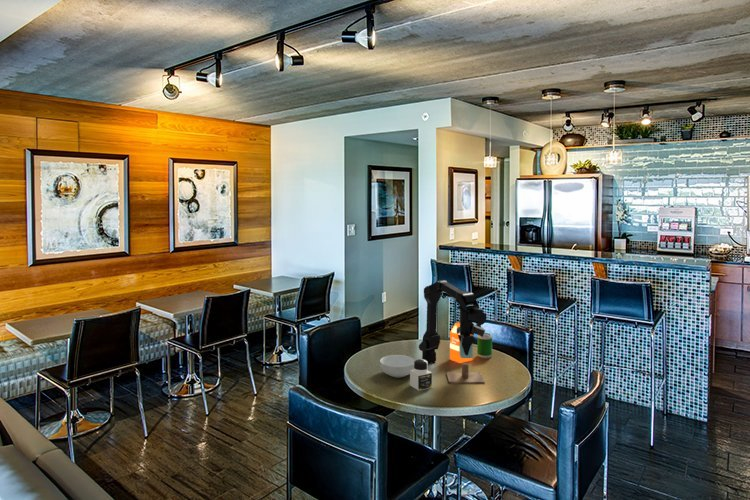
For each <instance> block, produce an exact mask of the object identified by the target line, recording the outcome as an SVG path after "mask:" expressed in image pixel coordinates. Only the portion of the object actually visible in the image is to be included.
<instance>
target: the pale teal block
mask: <svg viewBox="0 0 750 500" xmlns="http://www.w3.org/2000/svg"><path fill="white" fill-rule="evenodd" d="M473 346H474V344H472V345H471V346H470V350H469V353H468V355H465V352H464V350H463V347H462V344H461V341H459V355H460V357H461V358H472V359H473V358H474V357H473V356H474V355H473V354H474V353H473V352H474V351H473Z"/></svg>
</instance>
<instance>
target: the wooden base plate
mask: <svg viewBox="0 0 750 500" xmlns="http://www.w3.org/2000/svg"><path fill="white" fill-rule="evenodd" d="M445 375H446V377H447V381H448V384H466V385H467V384H475V385H476V384H479V385H480V384H486V382H485V379H484V377H483V376H482V375H483V374H481V372H478V371H477V372H476V371H474V372H469V364H468V362H463V363H461V372H460V371H459V372H458V371H457V372H454V371H453V372H449V371H447V372H446V373H445Z"/></svg>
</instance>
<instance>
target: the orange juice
mask: <svg viewBox="0 0 750 500" xmlns="http://www.w3.org/2000/svg"><path fill="white" fill-rule="evenodd" d="M458 327H460V324H459V321H458V322H455V324H454V325H453V327H452V328H451V330H450V332H449V360H451V361H452V362H456V363H458V364H462V363H468V362H470V361H471V362H472V361H473V358H461V357H460V355H459V341H460V340H459V338H458V335H459V334H457V333H456V332H457V328H458Z"/></svg>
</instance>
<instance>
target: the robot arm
mask: <svg viewBox="0 0 750 500" xmlns="http://www.w3.org/2000/svg"><path fill="white" fill-rule="evenodd" d="M442 293H445V294H447V295H448V296H450V297H451V298H453V299H454V300H455V302H456V304H458V306H456V309H457V310H459V321H458V322H459V324H460V327H458V328H457V332H456V333H457V334H459V335H458V338H459V340H460V341H461V344H462V347H463V350H464V352H465V355H468V353H469V350H470V346H471V345H472V344H473V345H474V344H477V338H476V337H475V336H474V335H477V336H478V335H480V336H481V337H483V335H484V333H486V329H485V328H484V327H483V325H484V324H485V323H486V322H487V314H486V313H485V312H484V309H483V308H480V305H479V302H478V301H477V299H476V296H475V294H474V293H473V292H471V291H467V290H461V289H460V288H458V287H456V286H454V285H453V284H452V283H449V282H448V281H447V280H445V279H442V280H436V281H435V282H434V283H432V284H430V285H427V286H425V287H424V288H423V298H424V300H425V301H426V325H425V326H426V330H425V332H424V334H423V337H422V340H421V342H420V343H419V345H418V350H419V351H421V356H422V357H421V359H423V360H426V361H427V362H428V364H436V361H437V352H436V350H439V346H440V344H441V335H440V334H438V331H437V323H438V321H437V320H438V319H437V317H438V316H437V315H438V303H439V301H440V299H441V295H442Z"/></svg>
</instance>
